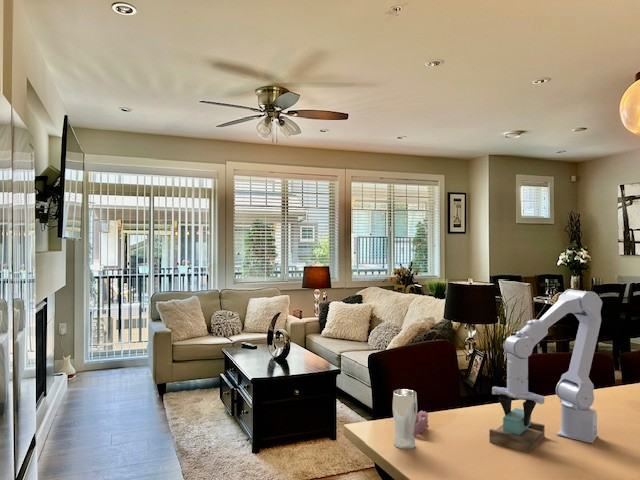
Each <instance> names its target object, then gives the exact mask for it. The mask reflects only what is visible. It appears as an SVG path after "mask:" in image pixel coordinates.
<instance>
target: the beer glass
mask: <svg viewBox="0 0 640 480" xmlns="http://www.w3.org/2000/svg"><path fill="white" fill-rule="evenodd" d="M392 396H393V397H392V415H393V422H394V428H395V433H394V434H395V435H394V440H393V445H394V446H395V447H396V448H399V449H401V450H412V449H414V448H416V439H415V435H414V428H415V423H416V417H417V414H418V399H417V398H418V396H417V392H416V391H415V390H413V389H407V388H403V389H402V388H401V389H400V388H398V389H395V390H393V395H392Z"/></svg>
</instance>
